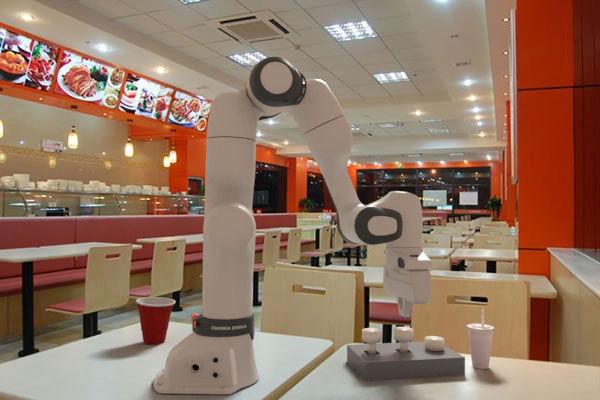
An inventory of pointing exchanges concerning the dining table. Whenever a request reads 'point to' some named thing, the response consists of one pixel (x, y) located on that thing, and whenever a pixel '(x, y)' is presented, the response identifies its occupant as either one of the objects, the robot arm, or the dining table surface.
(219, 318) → the robot arm
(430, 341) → the knob
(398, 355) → the console
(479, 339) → the smoothie
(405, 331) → the knob middle
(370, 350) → the knob
